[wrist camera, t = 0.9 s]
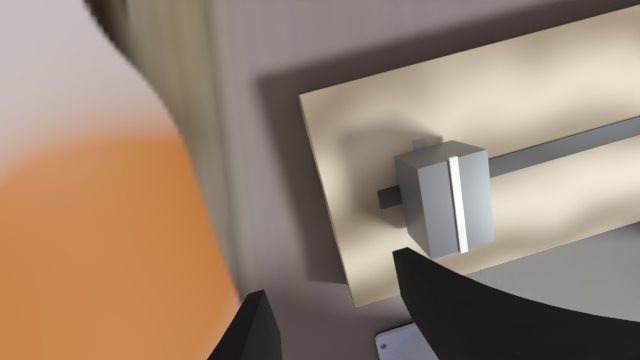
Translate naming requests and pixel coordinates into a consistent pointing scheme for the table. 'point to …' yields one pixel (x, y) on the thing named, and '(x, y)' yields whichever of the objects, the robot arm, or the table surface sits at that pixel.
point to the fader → (446, 197)
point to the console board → (487, 144)
